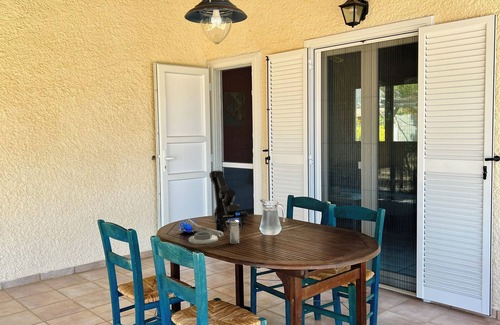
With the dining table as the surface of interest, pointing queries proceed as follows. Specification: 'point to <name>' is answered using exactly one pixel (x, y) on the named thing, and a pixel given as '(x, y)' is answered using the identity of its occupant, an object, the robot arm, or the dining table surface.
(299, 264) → the dining table surface
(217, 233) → the wrench
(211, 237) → the white and grey disc
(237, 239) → the piston
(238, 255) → the dining table surface
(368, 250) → the dining table surface
